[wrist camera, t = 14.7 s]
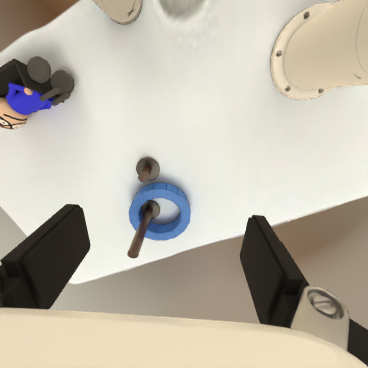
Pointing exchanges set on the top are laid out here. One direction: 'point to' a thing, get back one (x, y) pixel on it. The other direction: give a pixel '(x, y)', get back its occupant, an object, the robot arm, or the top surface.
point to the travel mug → (121, 9)
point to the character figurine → (30, 90)
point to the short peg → (147, 169)
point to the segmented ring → (161, 192)
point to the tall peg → (143, 226)
